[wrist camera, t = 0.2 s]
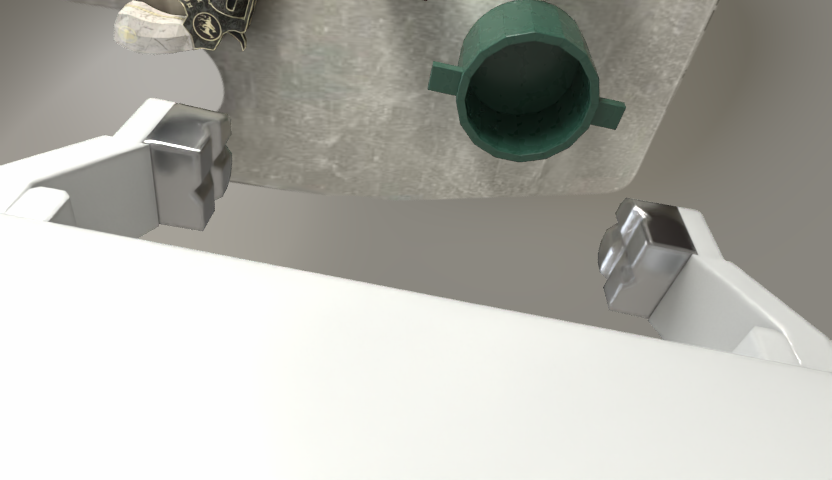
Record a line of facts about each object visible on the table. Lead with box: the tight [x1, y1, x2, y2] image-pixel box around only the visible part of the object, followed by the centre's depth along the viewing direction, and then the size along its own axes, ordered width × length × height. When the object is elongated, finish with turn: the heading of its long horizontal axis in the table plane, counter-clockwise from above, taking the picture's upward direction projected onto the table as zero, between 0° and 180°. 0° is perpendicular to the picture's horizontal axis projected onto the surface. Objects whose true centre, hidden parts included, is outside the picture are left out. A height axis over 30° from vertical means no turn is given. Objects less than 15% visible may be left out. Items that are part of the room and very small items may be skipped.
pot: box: [428, 0, 626, 162], centre depth 56 cm, size 13×18×8 cm
